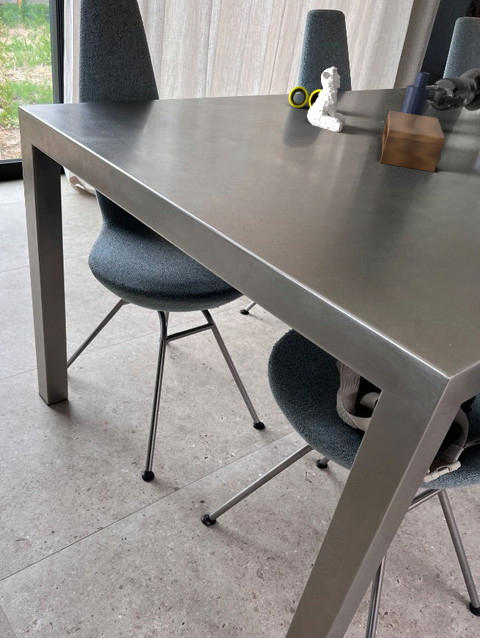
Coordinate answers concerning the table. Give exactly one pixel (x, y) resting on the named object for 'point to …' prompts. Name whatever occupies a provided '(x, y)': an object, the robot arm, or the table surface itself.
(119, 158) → the table surface
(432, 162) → the wooden block
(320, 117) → the seated beast figurine
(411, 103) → the bottle
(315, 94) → the opera glasses
